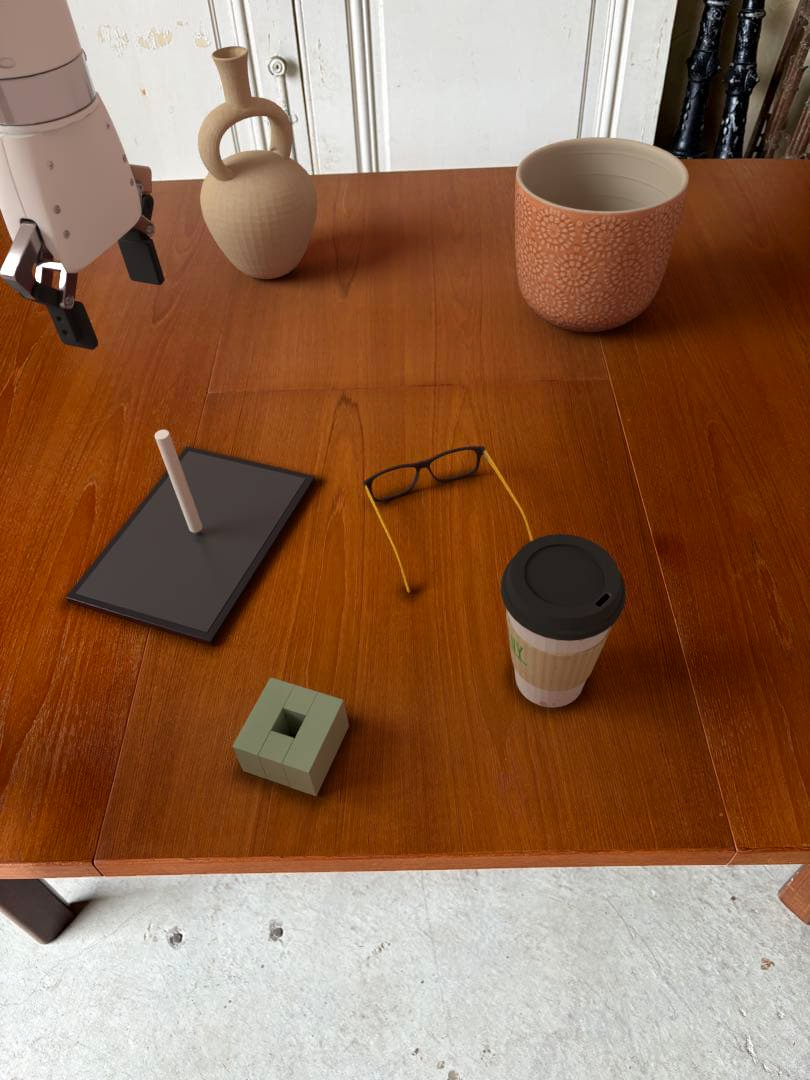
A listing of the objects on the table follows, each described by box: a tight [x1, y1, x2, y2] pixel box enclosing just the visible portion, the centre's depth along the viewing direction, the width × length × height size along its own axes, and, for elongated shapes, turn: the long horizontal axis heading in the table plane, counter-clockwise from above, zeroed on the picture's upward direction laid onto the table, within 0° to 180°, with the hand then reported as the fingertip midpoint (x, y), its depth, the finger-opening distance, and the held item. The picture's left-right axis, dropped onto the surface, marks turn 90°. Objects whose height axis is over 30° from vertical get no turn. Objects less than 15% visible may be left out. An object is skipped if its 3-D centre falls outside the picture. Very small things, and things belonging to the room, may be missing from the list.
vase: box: [197, 45, 318, 280], centre depth 114 cm, size 17×17×30 cm
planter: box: [514, 136, 690, 333], centre depth 107 cm, size 21×21×19 cm
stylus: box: [154, 429, 202, 535], centre depth 82 cm, size 1×1×14 cm
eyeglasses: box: [362, 445, 534, 593], centre depth 86 cm, size 14×14×4 cm
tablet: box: [65, 446, 317, 647], centre depth 88 cm, size 17×24×1 cm
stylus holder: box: [231, 677, 350, 797], centre depth 69 cm, size 7×7×4 cm
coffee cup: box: [500, 533, 627, 709], centre depth 69 cm, size 10×10×15 cm
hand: (116, 312), depth 67 cm, fingers open, 9 cm apart
